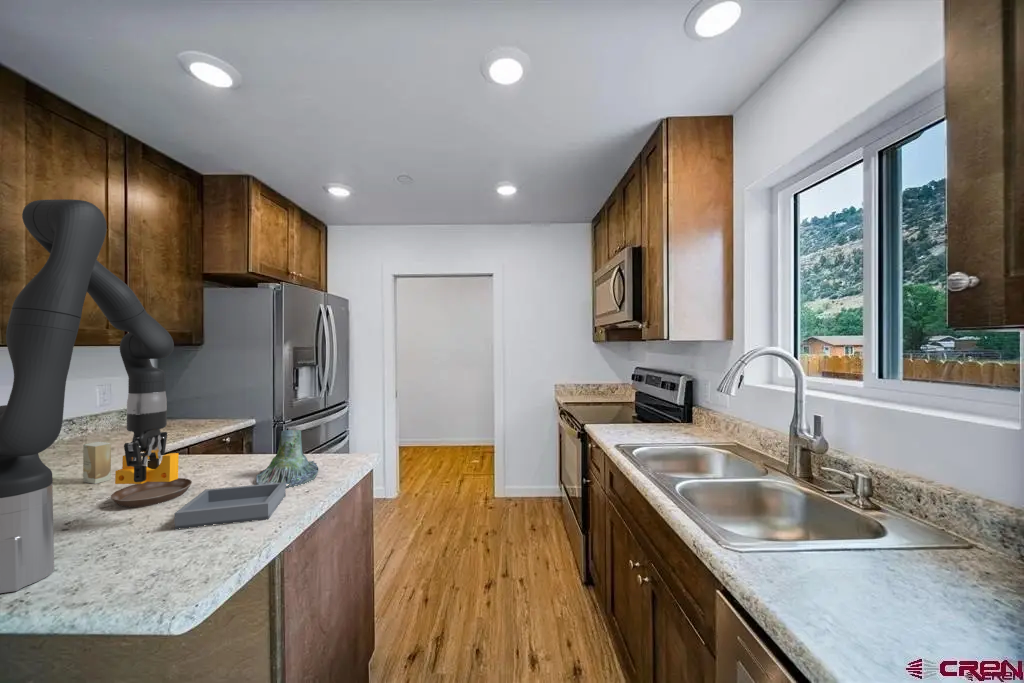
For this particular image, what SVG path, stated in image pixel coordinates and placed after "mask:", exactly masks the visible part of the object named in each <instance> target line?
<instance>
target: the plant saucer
mask: <svg viewBox="0 0 1024 683" xmlns="http://www.w3.org/2000/svg"><path fill="white" fill-rule="evenodd" d="M192 483H193V482H192V480H191V479H189V478H184V477H182V478H181V477H178V479H176V480H173V481H170V482H145V483H143V484H130V485H128V486H125V487H123V488H120V489H118V490H116V491H114V492H113V493H111V495H110V498H111V500H113V502H114V503H115V504H117V505H118V506H121V507H123V508H142V507H148V506H153V505H159V504H162V502H163V503H166V502H169V501H172V500H174V499H177V498H180V497H181V496H183V494H185V493H186V492H187V491H188V490H189V488H190V487H191V485H192ZM158 503H159V504H158Z"/></svg>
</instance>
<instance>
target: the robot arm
mask: <svg viewBox="0 0 1024 683" xmlns="http://www.w3.org/2000/svg"><path fill="white" fill-rule="evenodd" d="M21 216H22V217H21V218H22V221H23V225H24V227H25V228H26V230H27V231H28V233H29V234H30V235H31V236H32V237H33V238H34V239H35V240H36V242H38V243H39V244H40V246H42V247H43V248H44V249H45V251H47V252H48V253H49V256H48V258H47V261H46V262H45V264H44V265H43V266H42V267H41V269H40V270H39V272H38V273H37V274H36V275H34V277H33V278H32V279H31V280H29V282H28V283H27V284H26V285H25V286H24V287H23V288H22V290H20V292H19V293H18V294H17V295H16V298H15V300H14V301H13V304H12V306H11V309H10V314H9V318H8V322H7V325H6V332H5V340H6V341H5V342H6V347H7V350H8V354H9V358H10V361H11V364H12V369H13V370H12V372H13V383H12V388H11V392H10V394H9V398H8V401H7V403H6V404H4V405H0V594H3V593H11V592H17V591H20V590H21V589H22V588H25V587H27V586H29V585H31V584H32V585H33V584H35V583H37V582H39V581H42V580H43V579H45V578H47V577H48V576H50V575H51V574H52V573H53V572H54V570H55V545H54V544H55V542H54V540H55V538H54V537H55V536H54V493H53V492H54V489H53V471H52V470H51V468H49V467H48V466H47V465H46V464H45V463H44V462H43V461H42V460H41V458H40V456H39V453H42V452H44V451H45V450H47V449H48V448H50V447H51V446H52V445H53V444H54V443H55V441H57V439H58V437H60V433H61V430H62V428H63V427H62V426H63V420H64V408H65V393H66V385H67V378H68V374H69V369H70V366H71V360H72V355H73V352H74V346H75V343H76V341H77V340H76V339H77V337H78V334H79V333H78V331H79V330H80V329H79V328H80V324H81V319H82V314H83V309H84V303H85V299H86V295H87V294H88V295H89V296H90V298H92V300H93V301H94V303H95V304H96V305H97V307H98V308H99V309H100V311H101V312H102V313H103V315H104V316H105V318H106V319H107V320H108V322H109V323H110V324H111V326H113V328H115V329H116V330H120V331H122V332H126V334H125V335H124V336H123V337H122V338H121V341H120V343H119V353H120V356H121V359H122V360H121V361H122V362H123V365H124V368H125V371H126V374H127V376H128V379H127V380H128V381H127V382H128V384H127V386H128V394H127V399H126V400H127V401H126V430H127V431H128V432H132V433H133V436H132V438H131V439H132V441H130V442H125V443H124V445H123V448H124V455H125V456H126V462H127V466H132V467H134V482H143V481H145V480H146V470H147V467H148V468H151V469H156V468H157V467H158V466H159V465H160V460H161V459H162V456H163V455H166V454H165V453H166V446H167V440H168V432H167V431H161V429H164V428H166V427H167V424H168V423H167V422H168V420H167V418H168V417H167V415H168V413H167V411H168V409H167V408H168V407H167V405H168V402H167V401H168V399H167V392H166V383H167V382H166V378H167V377H166V372H165V370H163V369H160V368H158V367H154V366H153V364H152V362H151V360H158V359H159V360H160V359H165V358H167V357H169V356H170V355H172V353H173V351H174V348H175V344H174V339H173V336H171V334H170V333H169V331H167V329H166V328H165V327H164V326H163V325H161V324H160V323H159V322H158V321H157V320H156V319H155V318H154V317H153V316H151V315H150V314H149V313H148V312H147V310H146V309H145V307H144V305H143V304H142V302H141V301H140V299H139V298H138V296H137V295H136V294H135V292H134V291H133V290H132V289H131V288H130V286H129V285H127V284H126V283H125V282H124V280H122V279H120V278H119V277H118V276H117V275H115V274H114V272H111V271H110V270H109V269H108V268H107V267H106V266H104V265H103V264H102V263H100V261H98V256H99V255H100V253H101V250H102V247H103V245H104V242H105V239H106V235H107V231H108V230H107V229H108V228H107V220H106V217H105V215H104V213H103V212H102V210H101V209H100V208H99V207H98V206H96V204H94V203H92V202H90V201H88V200H81V199H65V198H64V199H63V198H61V199H60V198H58V199H39V200H33V201H31V202H29V203H28V204H26V205H25V206H24V208H23V210H22V213H21ZM132 457H133V460H132Z"/></svg>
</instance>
